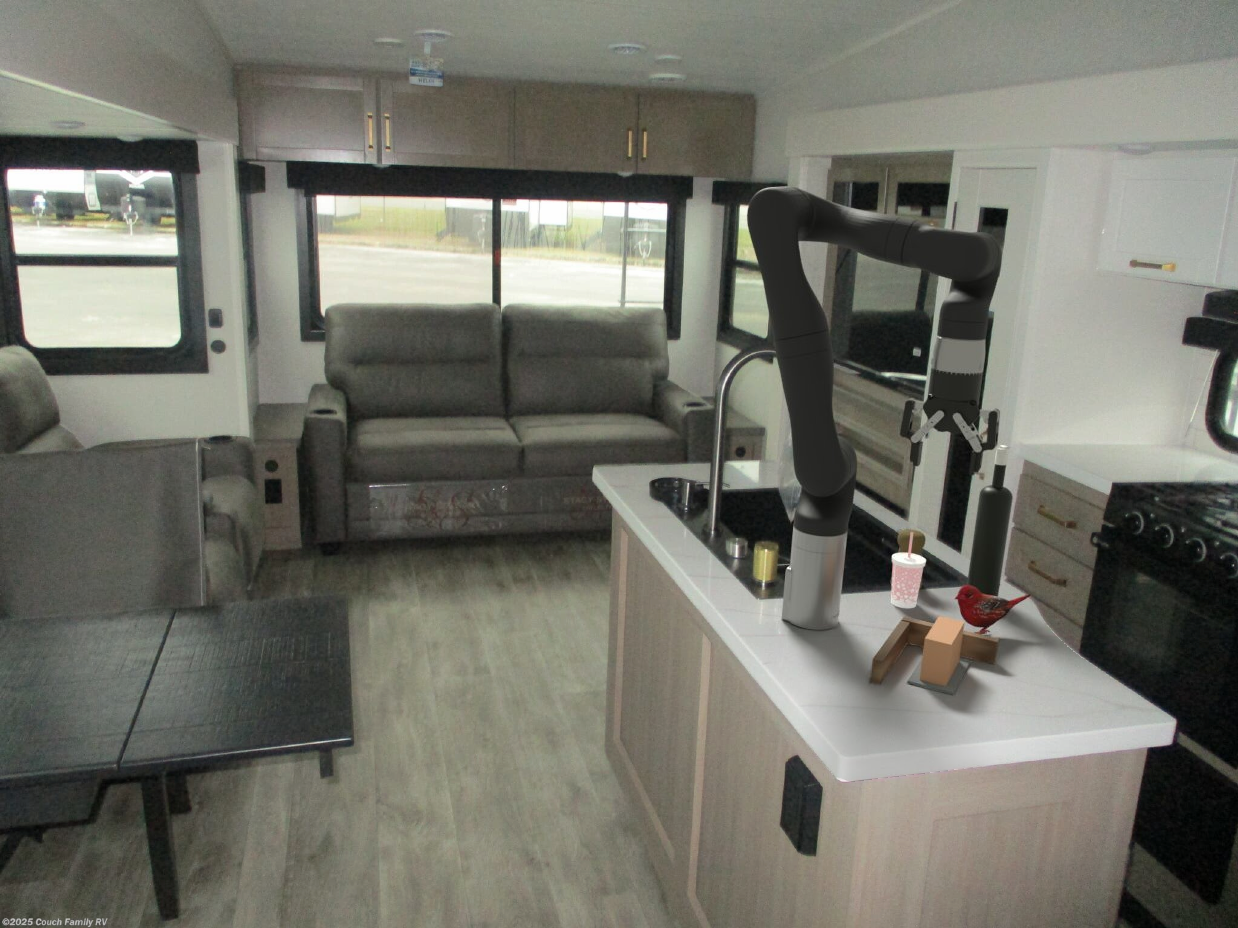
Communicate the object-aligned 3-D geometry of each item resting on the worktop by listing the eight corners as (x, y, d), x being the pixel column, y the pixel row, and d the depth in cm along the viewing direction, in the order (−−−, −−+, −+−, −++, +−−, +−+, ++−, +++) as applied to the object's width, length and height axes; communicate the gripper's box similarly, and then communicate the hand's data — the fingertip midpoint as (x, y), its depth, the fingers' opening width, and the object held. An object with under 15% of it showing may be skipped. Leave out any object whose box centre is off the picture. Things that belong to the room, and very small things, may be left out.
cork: (923, 591, 189) (930, 537, 186) (891, 588, 190) (897, 534, 187) (920, 580, 195) (927, 527, 192) (889, 576, 196) (895, 524, 193)
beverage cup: (926, 608, 181) (936, 537, 177) (896, 611, 180) (905, 538, 176) (909, 595, 187) (918, 526, 183) (880, 597, 185) (888, 527, 182)
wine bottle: (966, 602, 185) (987, 448, 177) (964, 590, 190) (985, 440, 182) (998, 606, 183) (1021, 451, 176) (995, 594, 189) (1018, 444, 181)
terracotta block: (934, 655, 162) (939, 615, 160) (959, 661, 160) (964, 621, 158) (919, 679, 153) (924, 638, 151) (945, 686, 151) (951, 644, 149)
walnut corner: (870, 681, 153) (872, 658, 152) (901, 637, 169) (903, 616, 168) (973, 709, 145) (977, 685, 144) (995, 660, 161) (999, 638, 160)
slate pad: (907, 682, 153) (907, 680, 153) (926, 651, 164) (926, 649, 164) (953, 695, 149) (953, 692, 149) (970, 662, 160) (970, 660, 160)
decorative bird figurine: (942, 637, 169) (950, 583, 167) (1019, 623, 176) (1027, 571, 174) (954, 644, 167) (962, 590, 164) (1032, 629, 174) (1040, 577, 171)
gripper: (1010, 369, 149) (995, 472, 153) (915, 358, 156) (904, 457, 160) (1002, 376, 143) (987, 483, 147) (903, 364, 149) (892, 467, 154)
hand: (943, 469), depth 153 cm, fingers open, 8 cm apart
